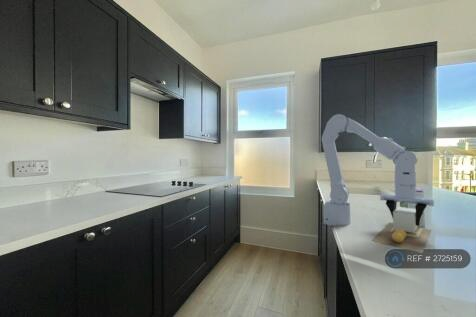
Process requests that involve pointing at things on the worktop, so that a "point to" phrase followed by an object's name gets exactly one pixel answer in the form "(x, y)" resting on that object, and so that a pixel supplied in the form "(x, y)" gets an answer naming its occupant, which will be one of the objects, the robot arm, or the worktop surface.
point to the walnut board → (410, 242)
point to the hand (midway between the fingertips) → (406, 223)
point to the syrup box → (410, 205)
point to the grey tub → (405, 219)
